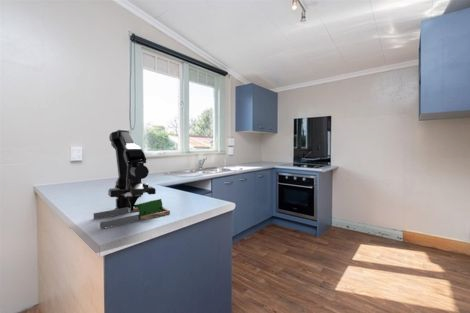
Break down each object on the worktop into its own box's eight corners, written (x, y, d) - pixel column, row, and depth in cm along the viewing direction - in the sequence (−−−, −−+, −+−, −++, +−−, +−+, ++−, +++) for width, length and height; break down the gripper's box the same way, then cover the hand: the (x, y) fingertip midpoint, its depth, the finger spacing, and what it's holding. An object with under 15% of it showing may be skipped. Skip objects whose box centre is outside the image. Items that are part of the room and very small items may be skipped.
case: (128, 212, 107) (127, 207, 107) (138, 220, 95) (138, 214, 95) (93, 218, 98) (93, 213, 98) (100, 229, 86) (100, 222, 86)
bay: (157, 206, 116) (157, 204, 116) (169, 213, 104) (169, 210, 104) (130, 211, 107) (130, 208, 107) (140, 220, 95) (140, 216, 95)
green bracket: (153, 219, 109) (156, 200, 113) (161, 218, 106) (164, 199, 110) (130, 215, 101) (134, 195, 104) (138, 214, 97) (142, 194, 101)
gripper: (114, 179, 88) (112, 218, 89) (160, 177, 100) (159, 212, 101) (108, 175, 97) (107, 211, 97) (152, 174, 109) (150, 206, 109)
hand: (131, 210), depth 101 cm, fingers closed
